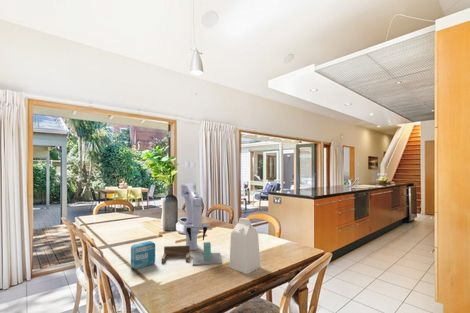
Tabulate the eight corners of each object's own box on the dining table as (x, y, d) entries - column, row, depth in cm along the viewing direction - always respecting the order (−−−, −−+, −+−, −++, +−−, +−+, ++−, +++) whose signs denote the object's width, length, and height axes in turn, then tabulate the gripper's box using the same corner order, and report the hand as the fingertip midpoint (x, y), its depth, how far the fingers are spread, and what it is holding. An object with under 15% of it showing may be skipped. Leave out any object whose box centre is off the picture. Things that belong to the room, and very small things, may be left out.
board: (193, 255, 151) (193, 253, 151) (219, 253, 153) (219, 252, 153) (192, 265, 135) (192, 264, 135) (221, 264, 137) (221, 262, 137)
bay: (164, 256, 149) (164, 246, 149) (189, 255, 151) (189, 245, 151) (161, 263, 139) (161, 252, 139) (188, 261, 141) (188, 251, 141)
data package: (133, 270, 130) (134, 247, 130) (130, 267, 133) (130, 245, 134) (155, 263, 138) (155, 242, 139) (151, 261, 141) (151, 240, 142)
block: (203, 256, 147) (203, 242, 147) (210, 255, 148) (210, 242, 148) (203, 259, 141) (203, 245, 141) (210, 259, 142) (210, 245, 142)
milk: (260, 267, 133) (259, 218, 134) (246, 274, 124) (246, 222, 125) (243, 261, 141) (242, 215, 142) (229, 267, 132) (229, 218, 133)
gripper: (184, 219, 146) (184, 242, 146) (209, 218, 148) (209, 241, 148) (185, 216, 153) (185, 239, 153) (208, 216, 155) (208, 238, 155)
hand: (197, 240), depth 151 cm, fingers open, 7 cm apart
